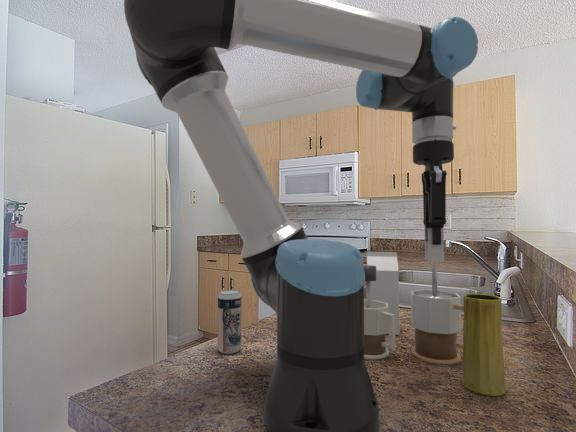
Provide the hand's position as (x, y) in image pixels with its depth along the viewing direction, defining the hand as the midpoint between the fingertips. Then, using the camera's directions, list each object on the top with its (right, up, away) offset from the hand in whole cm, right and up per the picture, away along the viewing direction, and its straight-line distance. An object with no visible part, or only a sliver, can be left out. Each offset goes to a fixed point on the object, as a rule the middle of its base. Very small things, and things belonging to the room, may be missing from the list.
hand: (434, 260), depth 67 cm
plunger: (0, -7, 0) cm, 7 cm away
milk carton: (-6, -19, +16) cm, 25 cm away
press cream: (-12, -19, 0) cm, 22 cm away
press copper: (+1, -19, -2) cm, 19 cm away
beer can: (-41, -19, +2) cm, 45 cm away
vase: (+2, -18, -13) cm, 23 cm away
